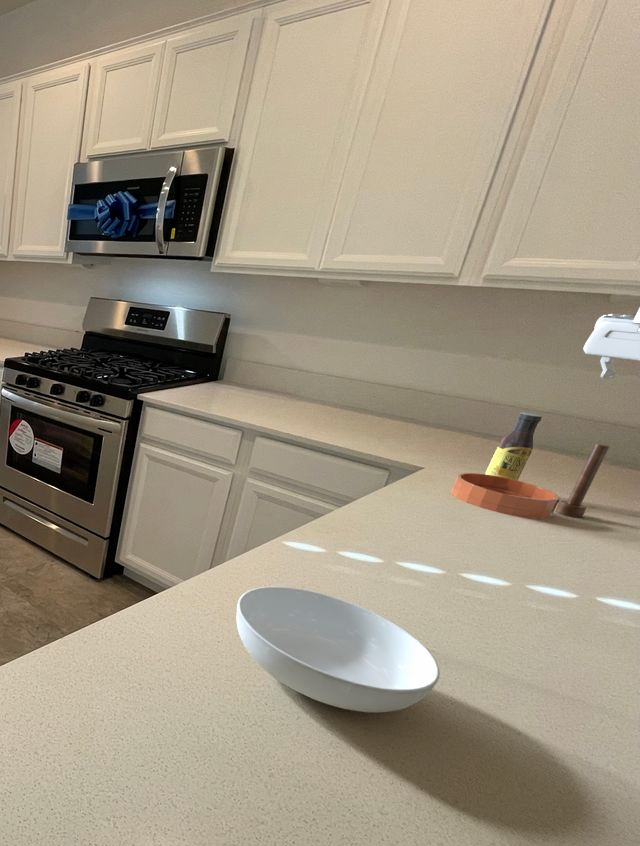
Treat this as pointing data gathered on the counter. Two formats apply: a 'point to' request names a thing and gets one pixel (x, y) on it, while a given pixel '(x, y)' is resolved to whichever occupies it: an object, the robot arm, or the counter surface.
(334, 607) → the serving bowl
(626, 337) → the robot arm
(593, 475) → the brown rod with base
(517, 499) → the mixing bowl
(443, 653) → the counter surface
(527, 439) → the sauce bottle
